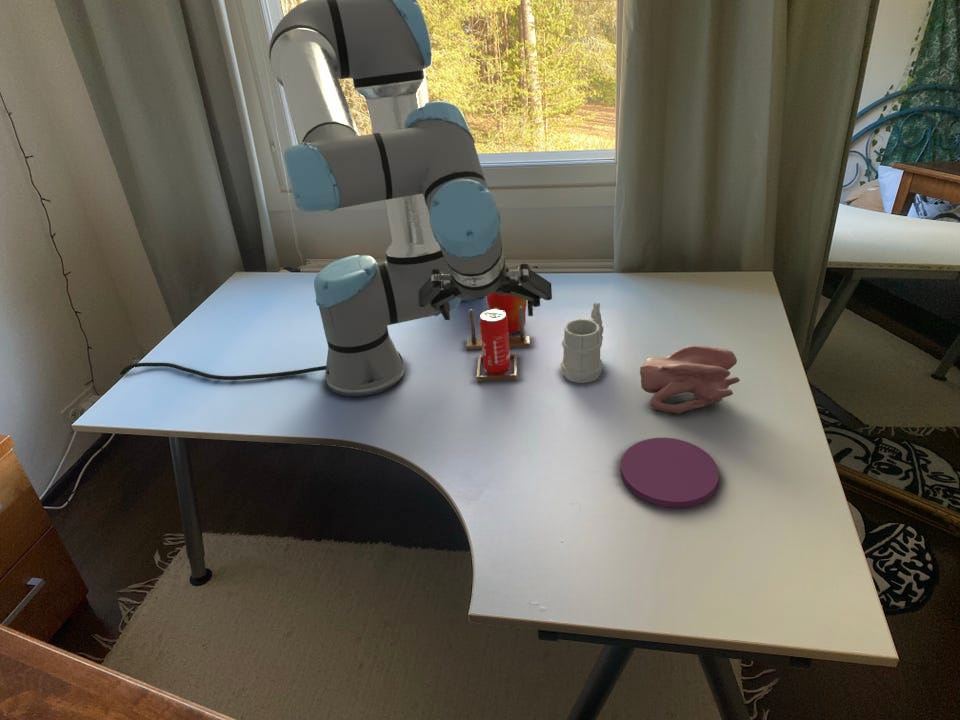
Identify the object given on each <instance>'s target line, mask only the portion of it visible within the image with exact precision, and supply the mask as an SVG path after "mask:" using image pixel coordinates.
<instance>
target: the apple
mask: <svg viewBox="0 0 960 720" xmlns="http://www.w3.org/2000/svg"><path fill="white" fill-rule="evenodd" d="M485 298H486V303H487V307H488V310H491V309H494V308H498V309H499V310H502V311H504V312H505V313H506V316H507V318H508V333H509V335H513V334H515V333H517V332H520V329H519V311H518V308H519V307H523V311H524V326H526V312H527V311H526V310H527V304H528V302H527V300H525V299H522V298H519V297H516V296H512V295H509V294H507V295H504V296H502V295H499V294H495V293H492V294H490V295H487V296H485Z"/></svg>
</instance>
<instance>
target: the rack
mask: <svg viewBox="0 0 960 720" xmlns="http://www.w3.org/2000/svg"><path fill="white" fill-rule="evenodd" d="M494 309H498V308H494ZM518 311H519V329H520V330H519V336H509V348H528V347H529V348H530V347H531V338H530V335H529V336H528V335H526V333H525V325H524V311H523V307H519V308H518ZM468 319H469V320H468V321H469V329H470V338H467V340H466V350H482V342H481V338H477V333H476V321H475V311H474V309H472V308H470V309H469V310H468ZM510 361H513V373H510V374H507V373H506V374H504V375H490V374H485V375H481V370H482V362H483V355H478V358H477V368H476V370H477V371H476V382H494V381H495V382H496V381H497V382H498V381H516V380H518V353H515V354H511V353H510Z"/></svg>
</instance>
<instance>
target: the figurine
mask: <svg viewBox="0 0 960 720" xmlns="http://www.w3.org/2000/svg"><path fill="white" fill-rule="evenodd" d="M737 362H738V359H737V357H736V355H735V353H734V352H733V351H732V350H728V349H726V348H720V347H713V346H709V345H708V346H707V345H688V346H685V347H683V348H680V349H678V350H676V351H674V352H673V353H670V354H669V355H668V356H665V357H659V356H651V357H648V358H646V359H645V361H644V362H643V364H641V366H640V367H639V376H640V384H641V389H642V390H643V391H644V392H646V393H649V394H654V395H653V396H652V397H651V398H650V401H649V407H650V408H652V409H655V410H657V411H658V412H664V413H671V414H672V413H673V414H677V415H678V414H679V415H680V414H682V413H685V412H688V411H691V410H696V409H700V408H702V407H707V406H710V405H712V404H713V403H714V402H716V403H719V402H721V401H723V399H724V398H728V397H730V396H733V394H734V392H733V391H732V389H729V388H730V386H732V385H735V384H737V383H739V382H740V381H741V378H740V377H738V376H731V377H730V375H731V372H730V371H729V370H731V369H732V368H733V367H734V366H736V364H737ZM687 393H688V394H692V396H693V397H694V400H689V401H685V402H681V403H676V404H671V403H667V402H663V401H664V400H667V399H669V398H673V397H675V396H679V395H682V394H687Z"/></svg>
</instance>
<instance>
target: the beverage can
mask: <svg viewBox="0 0 960 720" xmlns="http://www.w3.org/2000/svg"><path fill="white" fill-rule="evenodd" d="M479 329H480V339H481V342H482V349H481V351H482V356H483V361H482V363H483V368H484V370H485V372H486V373H487V375H507V373H508V372H509V370H510V367H511V360H510V354H511V351H510V348H509V337H510V334H509V333H508V318H507V316H506V313H505V312H504V311H502V310H499V309H491V310H489V309H486V310H485V311H483V312H482V313H481V314H480V318H479Z"/></svg>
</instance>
